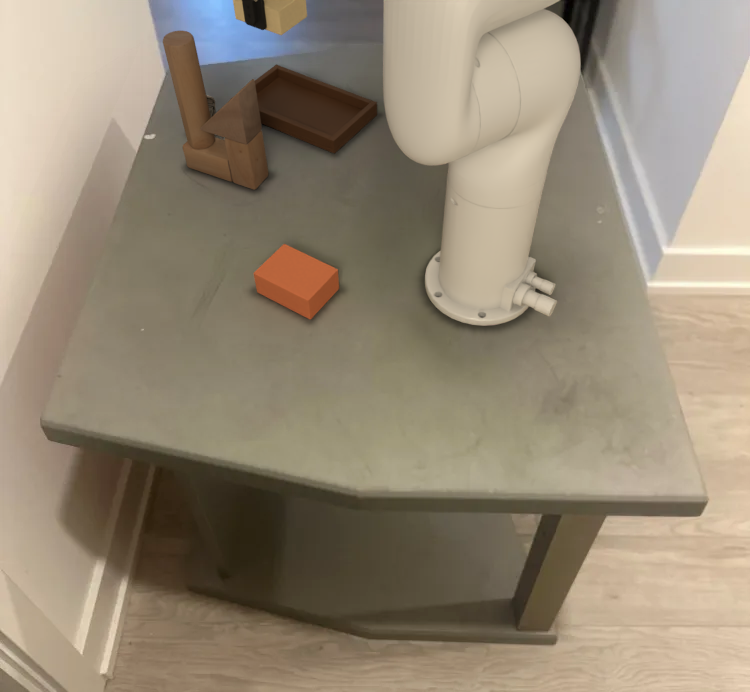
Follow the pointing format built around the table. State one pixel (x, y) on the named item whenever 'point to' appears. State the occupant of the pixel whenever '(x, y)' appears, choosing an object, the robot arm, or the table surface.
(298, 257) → the terracotta pad
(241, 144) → the brown l-shaped piece
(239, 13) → the sand pad
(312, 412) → the table surface
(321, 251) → the table surface
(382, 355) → the table surface
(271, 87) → the frame
